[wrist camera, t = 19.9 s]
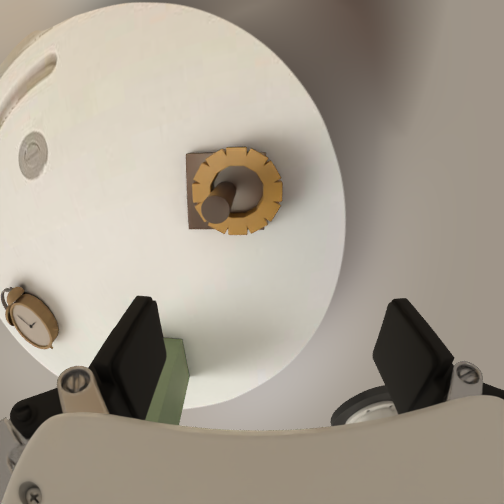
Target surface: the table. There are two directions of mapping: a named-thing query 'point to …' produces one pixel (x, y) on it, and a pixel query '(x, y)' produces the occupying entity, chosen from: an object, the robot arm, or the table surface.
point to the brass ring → (256, 163)
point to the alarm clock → (30, 318)
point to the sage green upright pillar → (170, 386)
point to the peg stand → (222, 192)
